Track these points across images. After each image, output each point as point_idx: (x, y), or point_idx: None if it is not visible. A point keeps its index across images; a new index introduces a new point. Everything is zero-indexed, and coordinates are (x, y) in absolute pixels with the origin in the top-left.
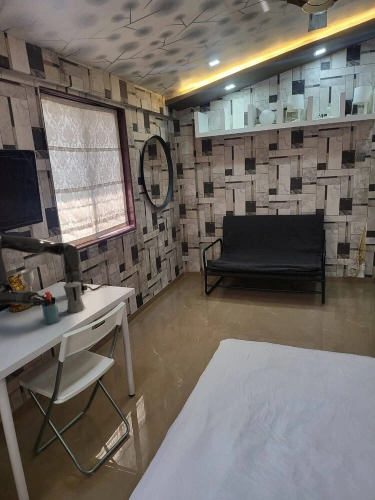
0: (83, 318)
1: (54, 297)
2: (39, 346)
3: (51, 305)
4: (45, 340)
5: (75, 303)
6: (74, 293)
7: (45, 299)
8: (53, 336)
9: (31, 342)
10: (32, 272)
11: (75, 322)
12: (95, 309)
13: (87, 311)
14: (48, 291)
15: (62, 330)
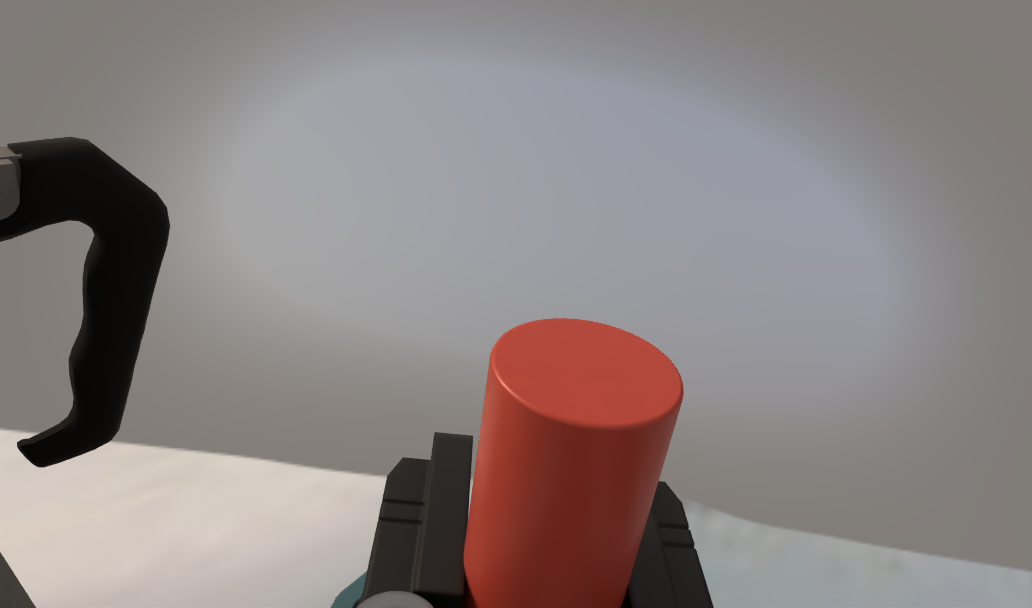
0: (321, 487)
1: (452, 437)
2: (1028, 578)
3: None
4: (927, 595)
5: (1, 559)
6: (162, 254)
7: (667, 584)
8: (817, 565)
9: None
10: None
11: None
12: (19, 471)
13: (67, 535)
14: (521, 357)
15: None
